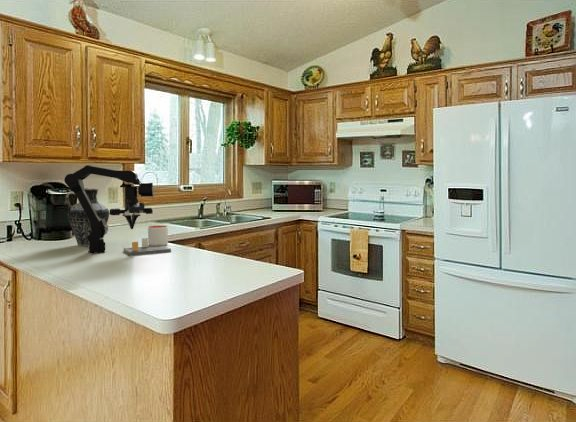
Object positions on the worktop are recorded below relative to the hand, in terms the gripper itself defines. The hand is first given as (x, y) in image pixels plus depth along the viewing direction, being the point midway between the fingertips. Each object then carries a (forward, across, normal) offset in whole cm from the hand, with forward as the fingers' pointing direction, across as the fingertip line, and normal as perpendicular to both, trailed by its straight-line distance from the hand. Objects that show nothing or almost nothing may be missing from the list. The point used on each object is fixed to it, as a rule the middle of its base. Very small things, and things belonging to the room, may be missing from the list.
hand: (131, 229), depth 192 cm
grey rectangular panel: (+11, +6, -4) cm, 13 cm away
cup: (+11, +16, +12) cm, 23 cm away
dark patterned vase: (+11, -15, +30) cm, 35 cm away
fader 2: (+9, +6, 0) cm, 11 cm away
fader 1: (+9, -1, -8) cm, 12 cm away
